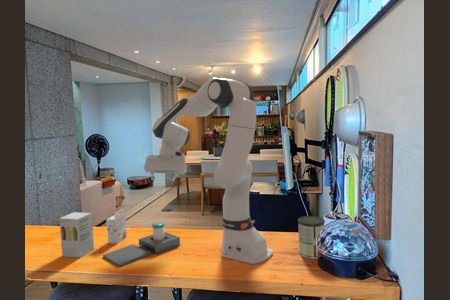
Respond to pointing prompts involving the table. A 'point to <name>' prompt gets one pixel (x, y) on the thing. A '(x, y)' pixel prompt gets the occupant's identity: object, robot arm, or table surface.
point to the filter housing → (159, 243)
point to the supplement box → (76, 234)
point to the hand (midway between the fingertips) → (162, 180)
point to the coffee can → (309, 235)
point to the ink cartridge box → (116, 227)
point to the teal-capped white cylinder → (158, 231)
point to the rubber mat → (126, 255)
